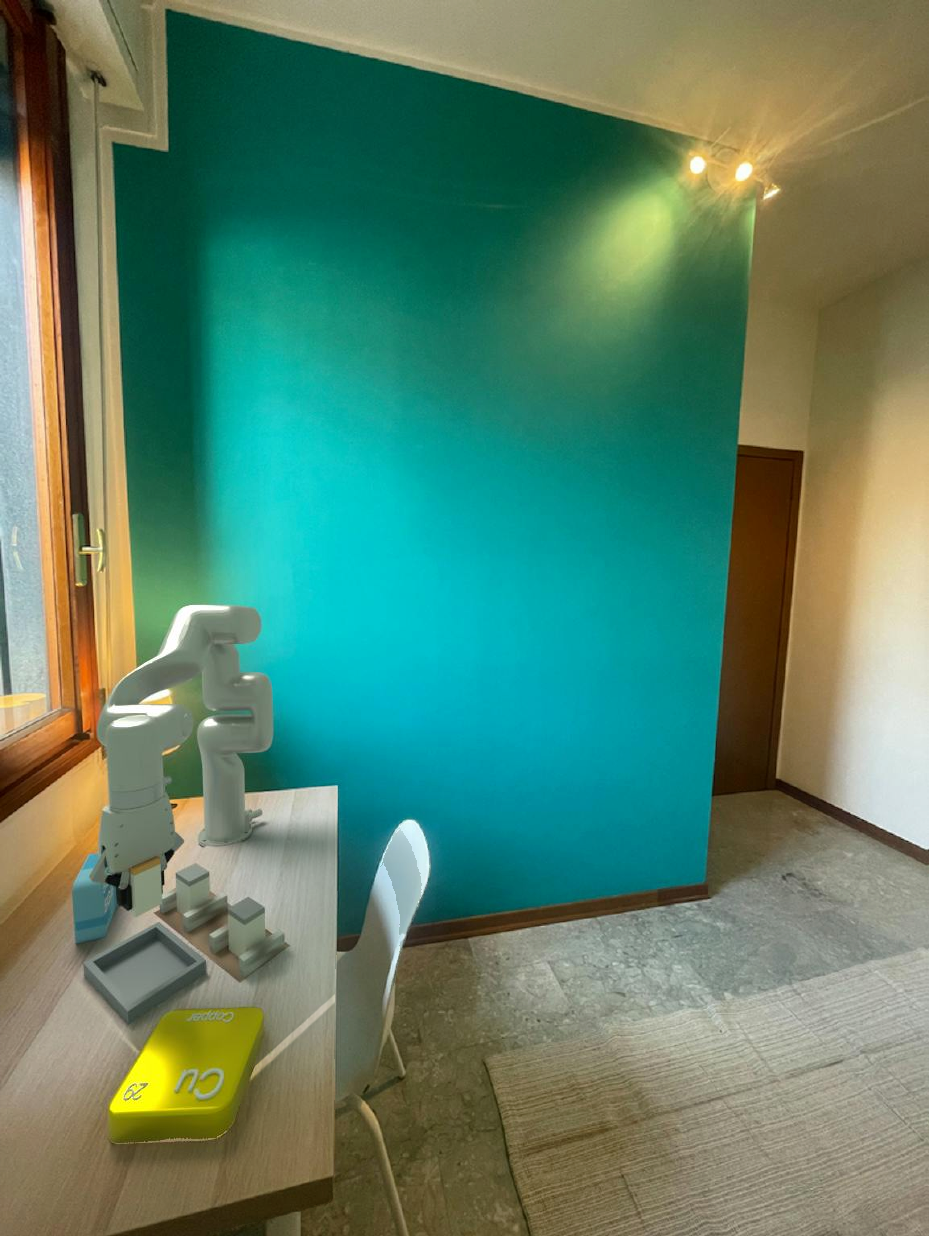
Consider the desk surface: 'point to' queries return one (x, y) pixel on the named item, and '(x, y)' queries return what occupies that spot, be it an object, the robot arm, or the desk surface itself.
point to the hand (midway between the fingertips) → (141, 898)
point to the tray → (144, 971)
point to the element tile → (188, 1076)
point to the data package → (92, 904)
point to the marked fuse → (145, 886)
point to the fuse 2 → (245, 925)
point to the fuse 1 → (192, 887)
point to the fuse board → (218, 934)
